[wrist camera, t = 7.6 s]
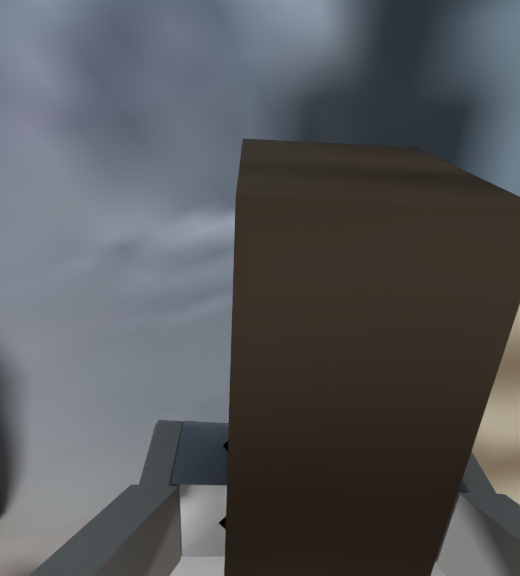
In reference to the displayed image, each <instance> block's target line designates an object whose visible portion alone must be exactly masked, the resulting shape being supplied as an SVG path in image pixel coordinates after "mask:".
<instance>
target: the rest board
mask: <svg viewBox="0 0 520 576" xmlns="http://www.w3.org/2000/svg"><path fill="white" fill-rule="evenodd" d="M472 453H473V454H474V456H475V458H476V459H477V461H478V463H479V464H480V466H481V468H482V469H483V471H484V473H485V475H486V476H487V478H488V480H489V481H490V483H491V485H492V486H493V488H494V490H495V491H496V493H497V494H505V495H507V496H508V497H509V498H511V499H512V500H513V501H515V502H516V503H518V504H519V505H520V305H519V308H518V311H517V314H516V317H515V320H514V323H513V326H512V329H511V332H510V335H509V338H508V341H507V344H506V347H505V351H504V354H503V357H502V360H501V363H500V366H499V369H498V372H497V375H496V378H495V381H494V384H493V387H492V390H491V393H490V396H489V399H488V402H487V405H486V408H485V412H484V415H483V418H482V421H481V424H480V427H479V430H478V433H477V436H476V439H475V442H474V445H473V448H472Z"/></svg>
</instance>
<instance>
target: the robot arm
mask: <svg viewBox="0 0 520 576" xmlns="http://www.w3.org/2000/svg"><path fill="white" fill-rule="evenodd" d="M228 435H229V423H215V422H196V421H184V422H183V421H169V420H158V422H157V423H156V425H155V428H154V432H153V436H152V439H151V443H150V447H149V450H148V454H147V457H146V461H145V465H144V468H143V472H142V476H141V479H140V483H139V485H130V486H129V487H128V488H127V489H126V490H125V491H123V492H122V493H121V494H120V495H119V496H118V497H117V498H116V499H114V500H113V501H112V502H111V503H110V504H109V505H108V506H107V507H106V508H104V509H103V510H102V511H101V512H100V513H99V514H98V515H97V516H95V517H94V518H93V519H92V520H91V521H90V522H89V523H88V524H86V525H85V526H84V527H83V528H82V529H81V530H80V531H79V532H77V533H76V534H75V535H74V536H73V537H72V538H71V539H70V540H68V541H67V542H66V543H65V544H64V545H63V546H62V547H61V548H59V549H58V550H57V551H56V552H55V553H54V554H53V555H52V556H50V557H49V558H48V559H47V560H46V561H45V562H44V563H43V564H41V565H40V566H39V567H38V568H37V569H36V570H35V571H34V572H32V573H31V574H30V575H29V576H170V574H171V573H172V572H173V570H174V569H175V567H176V566H177V565H178V563H179V562H180V560H181V557H221V556H225V531H226V499H227V467H228ZM435 562H437V565H438V567H439V568H440V569H441V570H442V571H443V572H444V573H445V575H446V576H520V505H519V504H518V503H516V502H515V501H513V500H512V499H511V498H509V497H508V496H507V495H505V494H497V493H496V491H495V490H494V488H493V486H492V485H491V483H490V481H489V480H488V478H487V476H486V475H485V473H484V471H483V469H482V468H481V466H480V464H479V463H478V461H477V459H476V458H475V456H474V454H473V453H472V451H471V454H470V457H469V460H468V463H467V466H466V469H465V473H464V476H463V479H462V482H461V485H460V488H459V491H458V494H457V497H456V500H455V503H454V506H453V509H452V512H451V515H450V518H449V521H448V524H447V527H446V530H445V534H444V537H443V540H442V543H441V546H440V549H439V552H438V555H437V558H436V561H435Z"/></svg>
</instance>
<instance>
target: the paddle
mask: <svg viewBox="0 0 520 576" xmlns="http://www.w3.org/2000/svg"><path fill="white" fill-rule="evenodd" d="M519 305H520V197H519V196H517V195H515V194H513V193H511V192H508V191H506V190H504V189H502V188H500V187H498V186H496V185H493V184H491V183H489V182H487V181H485V180H483V179H481V178H479V177H476V176H474V175H472V174H470V173H468V172H466V171H464V170H462V169H459V168H457V167H455V166H453V165H451V164H449V163H447V162H444V161H442V160H440V159H438V158H436V157H434V156H432V155H430V154H427V153H425V152H423V151H421V150H419V149H417V148H408V147H389V146H371V145H352V144H333V143H314V142H295V141H276V140H257V139H243V143H242V151H241V159H240V167H239V175H238V183H237V191H236V209H235V242H234V274H233V306H232V338H231V371H230V403H229V435H228V467H227V499H226V531H225V556H221V557H181V560H180V562H179V563H178V565H177V566H176V567H175V569H174V570H173V572H172V573H171V574H170V576H446V575H445V573H444V572H443V571H442V570H441V569H440V568H439V567H438V565H437V562H435V561H436V558H437V555H438V552H439V549H440V546H441V543H442V540H443V537H444V534H445V530H446V527H447V524H448V521H449V518H450V515H451V512H452V509H453V506H454V503H455V500H456V497H457V494H458V491H459V488H460V485H461V482H462V479H463V476H464V473H465V469H466V466H467V463H468V460H469V457H470V454H471V451H472V448H473V445H474V442H475V439H476V436H477V433H478V430H479V427H480V424H481V421H482V418H483V415H484V412H485V408H486V405H487V402H488V399H489V396H490V393H491V390H492V387H493V384H494V381H495V378H496V375H497V372H498V369H499V366H500V363H501V360H502V357H503V354H504V351H505V347H506V344H507V341H508V338H509V335H510V332H511V329H512V326H513V323H514V320H515V317H516V314H517V311H518V308H519Z"/></svg>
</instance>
